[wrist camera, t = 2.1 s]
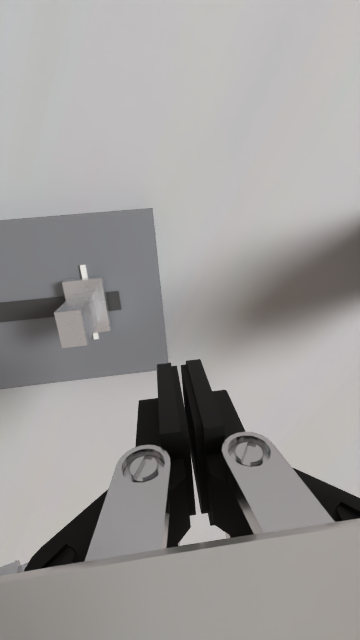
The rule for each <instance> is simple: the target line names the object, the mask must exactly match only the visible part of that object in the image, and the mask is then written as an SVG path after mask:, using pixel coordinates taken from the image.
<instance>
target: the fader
mask: <svg viewBox="0 0 360 640" xmlns="http://www.w3.org/2000/svg"><path fill="white" fill-rule="evenodd" d="M62 285H63V290H64V295H65V299H66V302H65V303H64V304H63V305H61V306H60V307H59V308H58V309H57V310H56V311H55V312H54V315H55V320H56V324H57V328H58V333H59V337H60V341H61V345H62V348H68V347H77V346H86V345H88V343H89V341H90V339H91V337H92V335H93V333H98V332H107V331H111V322H110V316H109V310H108V304H107V298H106V292H105V286H104V280H103V276H102V277H92V278H81V279H71V280H64V281H63V282H62Z"/></svg>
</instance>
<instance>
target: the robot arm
mask: <svg viewBox="0 0 360 640" xmlns="http://www.w3.org/2000/svg"><path fill="white" fill-rule="evenodd" d="M181 372H182V384H183V395H184V403H183V397H182V392H181V387H180V381H179V376H178V370H177V366H171V363H164V364H157V381H158V398H155V399H147V400H139V406H138V421H137V435H136V447H135V448H132V449H131V450H129V451H128V452H126V453H125V454H124V455H123V456H122V457H121V458H120V459H119V461H118V463H117V465H116V468H115V471H114V474H113V477H112V480H111V483H110V486H109V489H108V490H107V491H106V492H104V493H103V494H102V495H101V496H100V497H99V498H98V499H96V500H95V501H94V502H93V503H92V504H91V505H89V506H88V507H87V508H86V509H85V510H84V511H83V512H81V513H80V514H79V515H78V516H77V517H76V518H75V519H73V520H72V521H71V522H70V523H69V524H68V525H66V526H65V527H64V528H63V529H62V530H61V531H60V532H58V533H57V534H56V535H55V536H54V537H53V538H52V539H50V540H49V541H48V542H47V543H46V544H45V545H43V546H42V547H41V548H40V549H39V550H38V551H37V552H36V554H35V555H34V556H33V557H32V558H31V560H30V561H29V562H28V563H26V564H23V565H21V564H20V562H19V560H18V561H16V562H13V563H10V564H8V565H5V566H2V567H0V640H360V498H358V497H356V496H354V495H352V494H349V493H347V492H345V491H343V490H341V489H338V488H336V487H334V486H332V485H330V484H327V483H325V482H323V481H321V480H319V479H316V478H314V477H312V476H310V475H308V474H305V473H303V472H301V471H299V470H297V469H294V468H292V467H291V466H290V464H289V463H288V462H287V461H286V459H285V458H284V457H283V456H282V454H281V453H280V452H279V450H278V449H277V448H276V447H275V445H274V444H273V443H272V442H271V441H270V440H269V439H268V438H266V437H264V436H262V435H260V434H257V433H253V432H245V430H244V428H243V426H242V423H241V421H240V419H239V417H238V415H237V412H236V410H235V408H234V406H233V404H232V402H231V399H230V397H229V395H228V393H227V391H226V390H220V391H212V390H211V387H210V385H209V382H208V379H207V377H206V374H205V371H204V368H203V366H202V363H201V360H200V359H198V360H190V361H186V365H181ZM184 406H185V408H184ZM191 458H192V463H193V469H194V475H195V481H196V486H197V492H198V498H199V503H200V509H201V514H203V513H208V516H209V521H210V526H211V525H216V526H217V527H219V528H220V529H222V530H223V531H224V532H226V539H221V540H215V541H208V542H202V543H196V544H189V545H183V546H180V540H181V539H182V538H183V536H184V535H185V534H186V532H187V531H188V530H189V529H190V515H196V510H195V499H194V487H193V476H192V464H191Z"/></svg>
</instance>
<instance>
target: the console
mask: <svg viewBox="0 0 360 640" xmlns="http://www.w3.org/2000/svg"><path fill="white" fill-rule="evenodd" d="M102 276H103V280H104V286H105V292H106V298H107V304H108V310H109V316H110V322H111V331H107V332H98V333H93V335H92V337H91V339H90V341H89V343H88V345H86V346H77V347H68V348H62V345H61V341H60V337H59V333H58V328H57V324H56V320H55V315H54V312H55V311H56V310H57V309H58V308H59V307H60V306H61V305H63V304H64V303H65V302H66V299H65V295H64V290H63V285H62V282H63V281H64V280H71V279H81V278H92V277H102ZM164 363H168V354H167V345H166V335H165V325H164V315H163V306H162V296H161V286H160V277H159V267H158V257H157V248H156V238H155V228H154V218H153V209H152V208H147V209H135V210H122V211H110V212H98V213H85V214H73V215H61V216H48V217H36V218H23V219H11V220H0V389H5V388H13V387H22V386H30V385H38V384H47V383H55V382H63V381H72V380H80V379H88V378H97V377H105V376H113V375H122V374H130V373H138V372H147V371H155V370H157V364H164Z"/></svg>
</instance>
